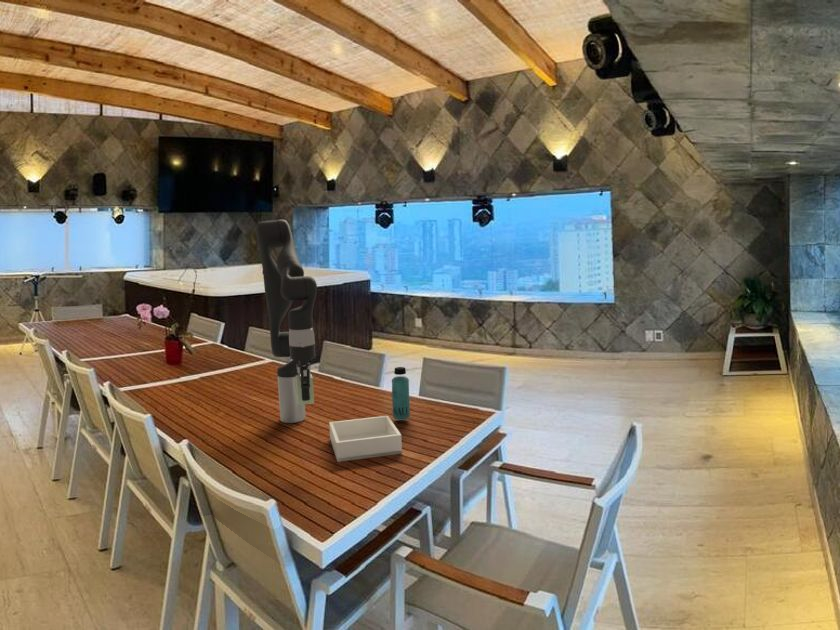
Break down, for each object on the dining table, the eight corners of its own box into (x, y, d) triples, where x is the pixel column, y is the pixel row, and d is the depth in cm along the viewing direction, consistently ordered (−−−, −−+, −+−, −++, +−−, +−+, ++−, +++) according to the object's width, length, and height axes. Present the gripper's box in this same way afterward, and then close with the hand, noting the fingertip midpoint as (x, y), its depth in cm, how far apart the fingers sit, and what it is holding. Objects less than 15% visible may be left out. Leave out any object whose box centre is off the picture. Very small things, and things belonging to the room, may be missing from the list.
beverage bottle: (402, 417, 210) (400, 364, 207) (414, 420, 205) (412, 367, 202) (388, 421, 205) (386, 367, 203) (401, 425, 201) (399, 370, 198)
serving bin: (330, 439, 189) (329, 422, 188) (388, 432, 194) (387, 415, 193) (337, 461, 170) (336, 442, 169) (402, 453, 175) (401, 434, 174)
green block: (297, 400, 174) (295, 375, 173) (312, 399, 175) (311, 374, 174) (298, 405, 169) (296, 379, 168) (314, 403, 170) (312, 377, 169)
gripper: (288, 339, 175) (291, 392, 178) (290, 348, 162) (294, 405, 164) (312, 337, 177) (315, 390, 180) (316, 346, 163) (320, 403, 166)
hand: (305, 397), depth 172 cm, fingers closed on green block, 4 cm apart
